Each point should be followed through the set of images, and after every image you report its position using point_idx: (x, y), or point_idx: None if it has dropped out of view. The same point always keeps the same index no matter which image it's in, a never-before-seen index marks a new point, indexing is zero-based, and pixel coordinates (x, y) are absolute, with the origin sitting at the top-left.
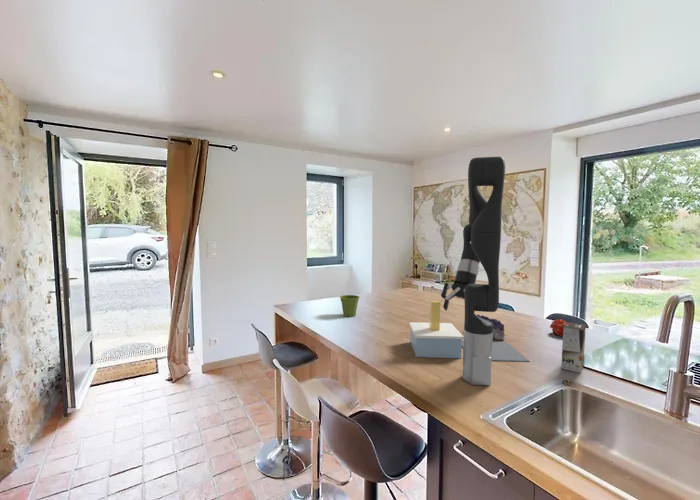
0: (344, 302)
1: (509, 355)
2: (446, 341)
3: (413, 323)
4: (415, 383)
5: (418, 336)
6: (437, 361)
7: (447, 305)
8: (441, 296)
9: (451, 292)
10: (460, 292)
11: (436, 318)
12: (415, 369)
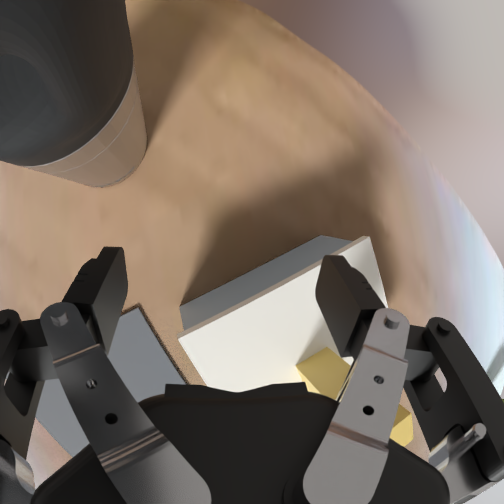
0: (502, 399)
1: (53, 395)
2: (245, 299)
3: None
4: (270, 47)
5: (357, 242)
6: (249, 231)
7: (336, 291)
8: (442, 320)
9: (402, 382)
10: (265, 454)
11: (335, 384)
12: (296, 132)
